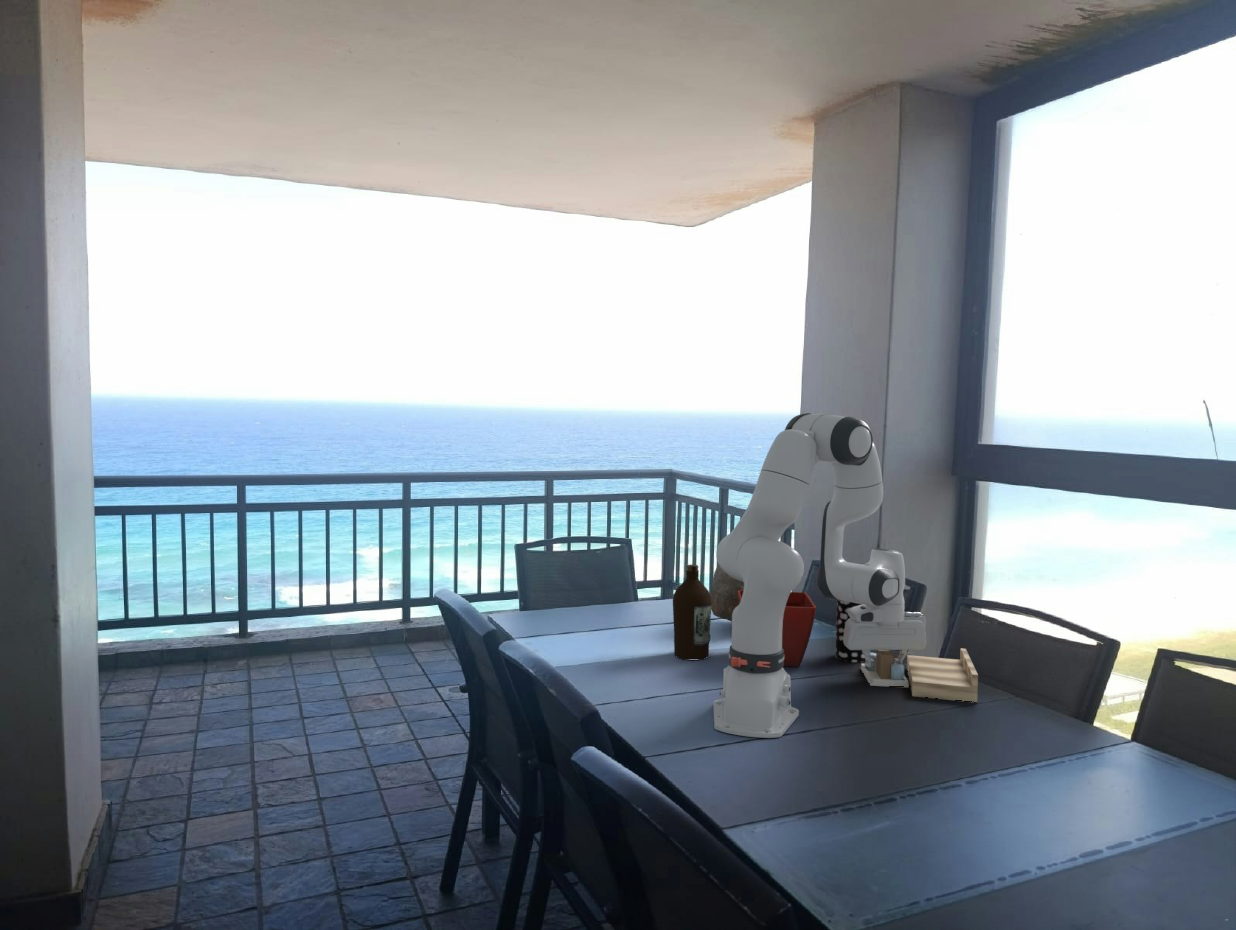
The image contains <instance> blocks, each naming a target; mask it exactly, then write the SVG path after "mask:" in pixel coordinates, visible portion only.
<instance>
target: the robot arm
mask: <svg viewBox="0 0 1236 930" xmlns="http://www.w3.org/2000/svg"><path fill="white" fill-rule="evenodd" d="M819 462H821V463H827V464H831V465H832V474H833V475H832V476H833V477H832V478H833V488H834V489H833V496H832V498H831V500H830V501H828V502H827V503H826V504H825V507H824V510H823V514H822V515H823V516H822V523H821V538H820V539H821V540H820V559H819V566H818V571H817V575H816V584H817V587H818V589H819V591H820V593H821V594H822V596H824V598H825V599H827V600H829V601H830V600H831V601H837V600H838V601H847V602H853V603H858V604H861V605H858V606H855V607H852V608H850V609H849V610H848V615H849V616H850V617H851V618H849V619H848V620H847V621H846V624H845V629H844V638H843V642H844V645H845V646H846V647H847V648H848V649H850V650H862V653H863V655H864V656H865V658H866V666H867V667H874V660H873V659H870V657H869V655H868V654H870V653H871V651H876V650H889V651H894V650H895V651H898V652H899V653H898V654H899V655H898V656H897V657H896V658H895V657H893V664H895V663H896V664H902V665H903V661H904V659H905V658H907V655H908V651H909V650H911V651H912V650H914V651H915V650H916V651H917V650H919V651H920V650H925V648H926V646H927V634H926V626H927V619H926V616H925V615H924V614H922V613H921V612H918V611H914V612H910V611H905V603H906V602H905V596H904V590H905V587H906V569H905V568H906V566H905V558H904V554H903V553H901V551H898V550H895V549H890V548H888V549H887V548H881V547H876V548H872V549H871V551H870V555H869V556H870V557H869V561H868V562H866V563H865V564H862V563H861V564H860V563H857V562H856V563H855V562H850V561H849V562H848V561H846V560H845V558H844V557H843V550H844V549H843V547H844V531H845V527H846V526H847V525H848V524H851V523H854V522H857V521H861V520H864V519H865V518H867V517H870V516H872V515H873V514H874V513H876V512H877V511H878V510H879V509H880V507H881V506H882V503H883V501H884V483H883V475H882V465H881V462H880V459H879V454H878V451H877V447H876V445H875V443H874V439H873V434H872V431H871V429H870V427H869V425H868V423H866V422H865V421H863V420H862V419H860V418H857V417H854V416H843V415H837V414H833V413H811V412H810V413H809V412H806V413H802V414H798V415H796V416H793V418H791V419H790V420H789V421H788V422H787V425H786V426H785V428H784V430H782V431H780V432H779V433H778V434H777V435H776V437H775V438H774V440H773V442H772V443H771V445H770V447H769V450H768V452H767V454H766V456H765V458H764V461H763V463H762V467H761V469H760V472H759V475H758V479H757V481H756V485H755V487H754V490H753V494H752V497H751V499H750V500H749V503H748V505H747V507H746V509H745V511H744V513H743V515H742V516H741V518H740V519H739V521H738V522H737V523H736V525H735V527H734V528H733V529H732V531H731V532H730V533H729V534H727V535H726V536H724V537H723V538H722V539H721V541H720V542H719V543H718V546H717V548H716V552H715V553H716V554H715V556H716V561H717V563H718V565H719V566H720V567H721V568H722V569H723V570H724V571H725V572H726V573H727V574H728V575H729V576H731V577H732V578H734V579H736V580H739V581H742V582H744V591H743V595H742V599H741V601H740V604H739V605H738V606H737V607H736V608H735V609H734V610H733V613H732V622H731V645H730V646H729V651H728V665H727V666H726V667H724V668H723V688H722V690H720V691H719V697H721V698H718V699H715V700H713V704H712V705H713V706H712V707H713V709H712V710H713V711H712V713H713V727H714V728H713V729H715V730H717V731H720V732H722V733H727V734H731V735H737V736H743V737H749V738H750V737H751V738H762V739H763V738H764V739H765V738H766V739H771V738H772V739H773V738H781V737H782V736H783V735H784V734H785V733H786V731H787V730H788V729H789V728H790V727H791V725H792V724H793V723H794V722H795V720H797V718H798V717H799V715H800V714H799V713H800V711H799V709H798V708H796V707H794V706H792V701H791V699H792V698H791V697H792V695H791V693H792V692H791V676H790V674H789V673H788V672H787V671H786V670H785V668H784V667H785V666H784V649H783V648H782V629H783V615H784V610H785V606H786V603H787V600H788V597H789V595H790V593H791V592H793V591H794V589H796V588H797V587H798V586H799V585H800V583H801V581H802V579H803V577H804V573H805V564H804V563H805V562H804V560H803V558H802V556H801V554H800V553H799V551H797V550H796V549H794V548H793V547H791V546H790V545H788V544H787V543H786V542H783V541H780V539H781V537H782V536H783V534H784V533H785V531H786V530H787V529H788V528H789V527H790V526H791V525H794V524H795V523H796V522H797V521H798V519H799V517H800V516H801V512H802V511H803V510H802V509H803V507H804V503H805V500H806V498H807V494H808V492H809V488H810V485H811V481H812V477H813V473H814V470H815V466H816V464H817V463H819Z"/></svg>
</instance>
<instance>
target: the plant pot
mask: <svg viewBox="0 0 1236 930" xmlns="http://www.w3.org/2000/svg"><path fill="white" fill-rule="evenodd" d="M743 591H744V590H739V591H738V598H739V604H740V601H741V599H742V595H743ZM816 610H817V606H816V605H815V603H814V602H813V600H812V599H811V597H810V596H809V594H808V593H807V592H803V591H801V592H799V591H798V592H797V591H791V593H790V595H789V597H788V600H787V603H786V606H785V610H784V615H783V629H782V648H783V649H784V666H783V667H800V666H801V664H802V662H803V660H804V657H805V654H806V652H807V648H808V645H809V642H810V639H811V634H812V630H813V626H814V622H815V617H816V612H817V611H816Z"/></svg>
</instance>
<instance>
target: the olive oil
mask: <svg viewBox="0 0 1236 930" xmlns="http://www.w3.org/2000/svg"><path fill="white" fill-rule="evenodd" d="M699 572H700V571H699V565H698V564H687V565H686V572H685V575H686V576H685V577H686V578H685V579H684V581H683V582H682V583H681V584H680V585H679V586H678V587H677V588H676V589H675V591H674V593H673V597H672V615H673V617H672V618H673V620H672V621H673V645H674V646H673V647H674V648H673V649H674V650H673V652H674V654H675V655H674V654H673V655H674V657H676V656H677V657H679V658H678V659H680V658H681V660H684V659H702V660H705V659H704V658H706V657H707V658H708V657H710V656H709V655H710V653H709V651H710V642H711V634H710V633H711V631H710V630H711V618H712V617H711V615H712V609H711V606H712V600H711V592H710V591H709V590H708V588H707V587H706V586H705V585H704V584H703V583H702V582H701V580H700V579H699V577H700V576H699ZM677 657H676V658H677ZM707 658H706V659H707Z"/></svg>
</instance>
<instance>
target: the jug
mask: <svg viewBox="0 0 1236 930" xmlns="http://www.w3.org/2000/svg"><path fill="white" fill-rule="evenodd" d="M712 576H713V577H712V581H711V587H710V596H711V600H712V606H711V613H712V614H713V616H715V617H717V618H720V619H721V620H722V619H723V620H726V621H729V622H731V623H732V613H733V610H734V609H735V608H736V607H737V606H738V605H739V598H738V591H739V590H744V582H742V581H739V580H736V579H734V578H732V577H731V576H729V575H728V574H727V573H726V572H725V571H724V570H723V569H722V568H721V567H720V566H719V564H718V565H717V567H716V569H715V571H714V573H713V575H712Z"/></svg>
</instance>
